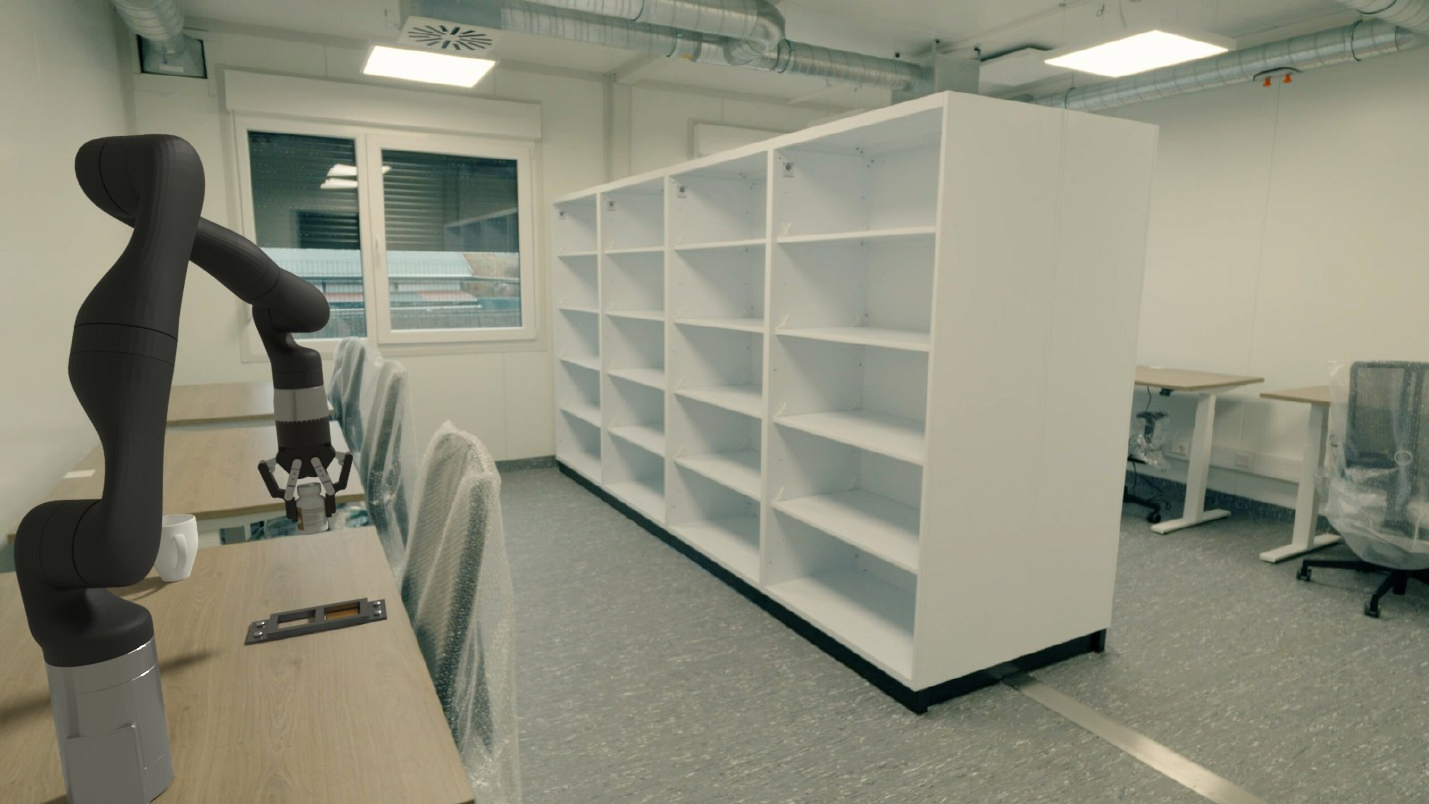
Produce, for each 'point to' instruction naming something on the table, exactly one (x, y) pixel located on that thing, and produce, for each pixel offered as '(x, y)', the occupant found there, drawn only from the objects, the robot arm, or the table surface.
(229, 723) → the table surface
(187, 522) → the mug
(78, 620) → the robot arm
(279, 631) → the metal frame plate
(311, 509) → the pill bottle
